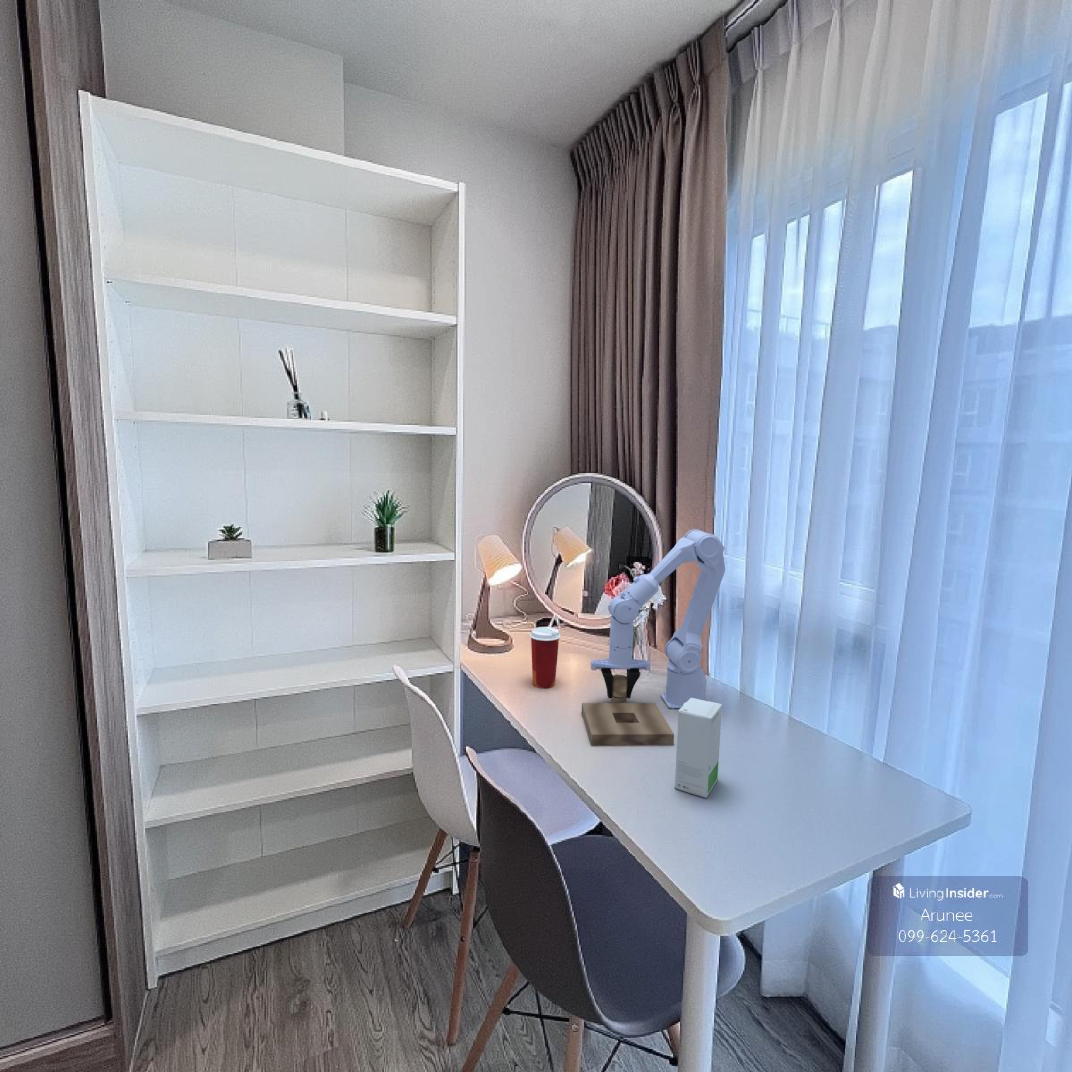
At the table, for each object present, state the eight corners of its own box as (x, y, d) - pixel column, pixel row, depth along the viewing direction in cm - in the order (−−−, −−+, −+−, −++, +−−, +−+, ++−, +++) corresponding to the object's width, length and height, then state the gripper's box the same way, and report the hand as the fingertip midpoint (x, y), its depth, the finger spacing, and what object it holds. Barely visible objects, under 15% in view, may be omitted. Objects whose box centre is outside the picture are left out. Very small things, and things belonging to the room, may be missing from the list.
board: (654, 712, 144) (655, 702, 144) (673, 744, 129) (674, 734, 128) (581, 712, 143) (581, 703, 143) (591, 745, 127) (591, 734, 127)
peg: (624, 700, 151) (626, 674, 150) (628, 707, 147) (629, 680, 146) (608, 700, 151) (609, 674, 150) (611, 707, 147) (612, 680, 146)
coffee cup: (565, 684, 161) (566, 630, 159) (544, 692, 155) (546, 637, 153) (542, 675, 166) (543, 624, 164) (522, 683, 160) (523, 630, 158)
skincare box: (706, 799, 108) (711, 719, 106) (671, 788, 112) (676, 710, 110) (718, 778, 116) (724, 703, 113) (685, 768, 119) (690, 695, 117)
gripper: (646, 639, 151) (643, 690, 153) (589, 639, 150) (587, 690, 152) (652, 648, 144) (650, 701, 146) (593, 648, 143) (591, 701, 145)
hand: (618, 696), depth 149 cm, fingers closed on peg, 4 cm apart
